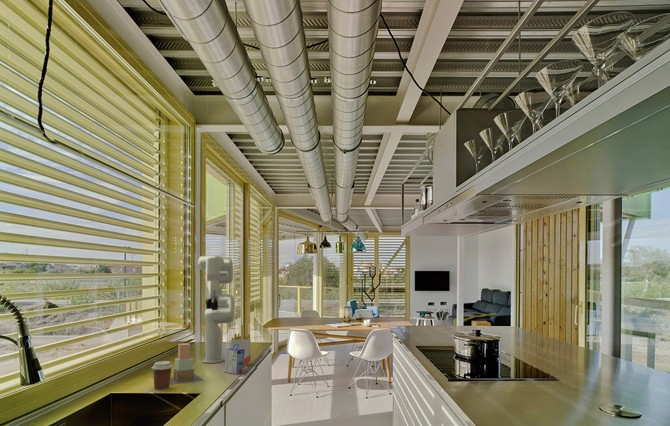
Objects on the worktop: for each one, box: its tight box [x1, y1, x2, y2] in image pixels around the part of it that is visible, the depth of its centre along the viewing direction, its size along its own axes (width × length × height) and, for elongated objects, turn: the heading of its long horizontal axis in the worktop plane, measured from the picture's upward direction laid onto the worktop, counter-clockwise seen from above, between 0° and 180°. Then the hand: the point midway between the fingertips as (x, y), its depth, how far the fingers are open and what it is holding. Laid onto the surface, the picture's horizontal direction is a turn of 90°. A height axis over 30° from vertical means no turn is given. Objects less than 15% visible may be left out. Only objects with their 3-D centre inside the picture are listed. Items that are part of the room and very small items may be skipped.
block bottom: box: [173, 367, 195, 382], centre depth 235 cm, size 8×8×5 cm
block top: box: [174, 357, 194, 371], centre depth 236 cm, size 7×7×5 cm
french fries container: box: [230, 333, 252, 367], centre depth 270 cm, size 5×11×18 cm, turn 103°
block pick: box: [177, 342, 192, 360], centre depth 237 cm, size 5×5×7 cm
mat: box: [169, 373, 205, 386], centre depth 235 cm, size 16×16×1 cm
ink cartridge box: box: [224, 344, 245, 375], centre depth 252 cm, size 10×6×14 cm, turn 53°
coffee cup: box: [151, 360, 174, 391], centre depth 218 cm, size 9×9×12 cm
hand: (212, 309), depth 263 cm, fingers open, 9 cm apart
